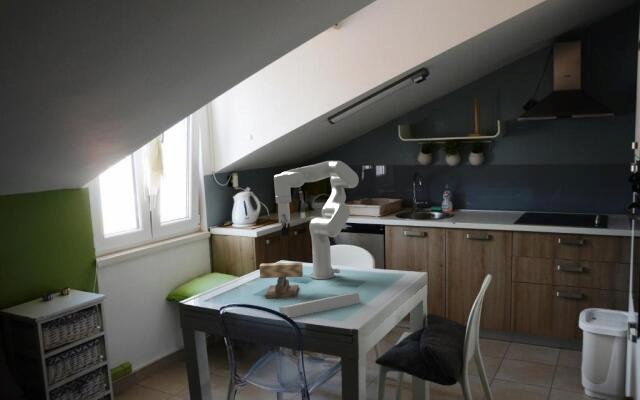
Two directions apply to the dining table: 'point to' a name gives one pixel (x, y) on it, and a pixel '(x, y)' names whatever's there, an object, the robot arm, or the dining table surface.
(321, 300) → the decorative molding
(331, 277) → the robot arm
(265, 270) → the wooden block
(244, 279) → the dining table surface
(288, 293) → the ridge stand
